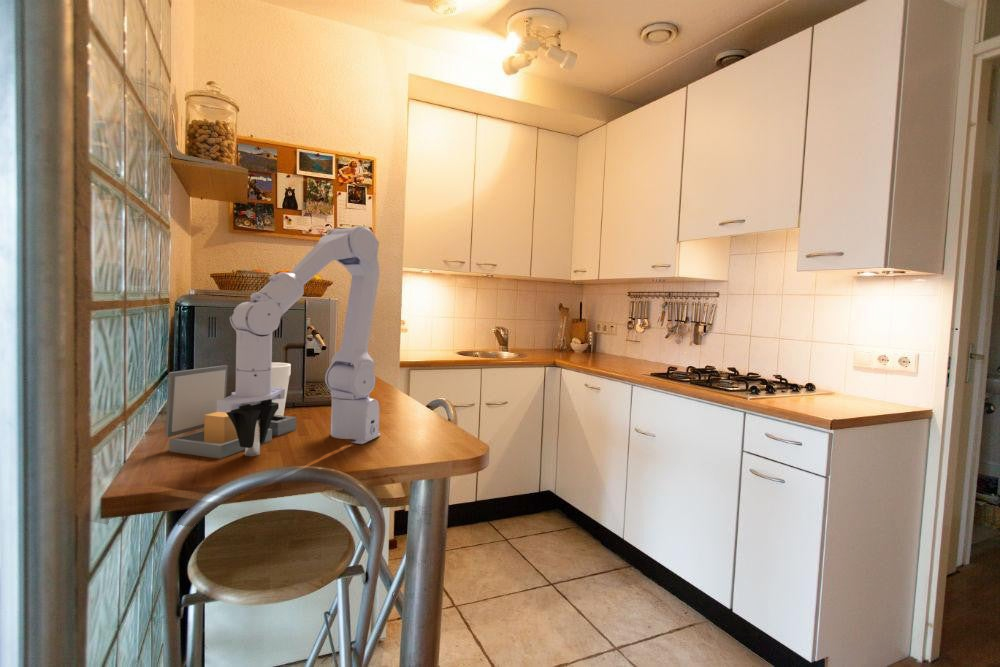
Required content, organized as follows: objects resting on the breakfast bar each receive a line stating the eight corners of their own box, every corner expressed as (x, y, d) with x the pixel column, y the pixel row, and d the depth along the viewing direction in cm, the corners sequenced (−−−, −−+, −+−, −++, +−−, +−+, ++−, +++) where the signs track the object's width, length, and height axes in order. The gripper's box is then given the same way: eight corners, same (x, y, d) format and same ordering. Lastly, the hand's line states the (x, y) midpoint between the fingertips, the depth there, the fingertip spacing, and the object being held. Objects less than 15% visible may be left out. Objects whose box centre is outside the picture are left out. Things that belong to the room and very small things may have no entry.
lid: (228, 365, 101) (225, 365, 101) (172, 373, 89) (168, 372, 89) (225, 422, 102) (221, 421, 102) (168, 437, 89) (165, 436, 89)
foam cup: (240, 417, 120) (241, 363, 119) (278, 412, 127) (279, 361, 126) (257, 425, 114) (258, 368, 113) (297, 419, 121) (298, 365, 120)
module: (241, 443, 96) (242, 412, 96) (223, 449, 92) (224, 417, 91) (222, 441, 97) (223, 410, 97) (204, 447, 93) (204, 415, 92)
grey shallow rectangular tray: (271, 444, 99) (272, 429, 99) (220, 462, 87) (221, 445, 87) (225, 438, 102) (225, 423, 102) (169, 455, 89) (169, 439, 89)
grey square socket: (296, 433, 108) (296, 417, 108) (277, 439, 103) (278, 422, 102) (272, 430, 110) (272, 414, 110) (252, 436, 104) (252, 420, 104)
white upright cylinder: (262, 457, 91) (263, 418, 91) (253, 460, 89) (253, 421, 88) (251, 455, 91) (252, 417, 91) (241, 459, 89) (242, 420, 89)
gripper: (263, 363, 97) (261, 433, 98) (202, 372, 83) (200, 453, 84) (294, 366, 96) (293, 436, 96) (238, 375, 81) (236, 457, 82)
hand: (252, 444), depth 90 cm, fingers closed on white upright cylinder, 2 cm apart
